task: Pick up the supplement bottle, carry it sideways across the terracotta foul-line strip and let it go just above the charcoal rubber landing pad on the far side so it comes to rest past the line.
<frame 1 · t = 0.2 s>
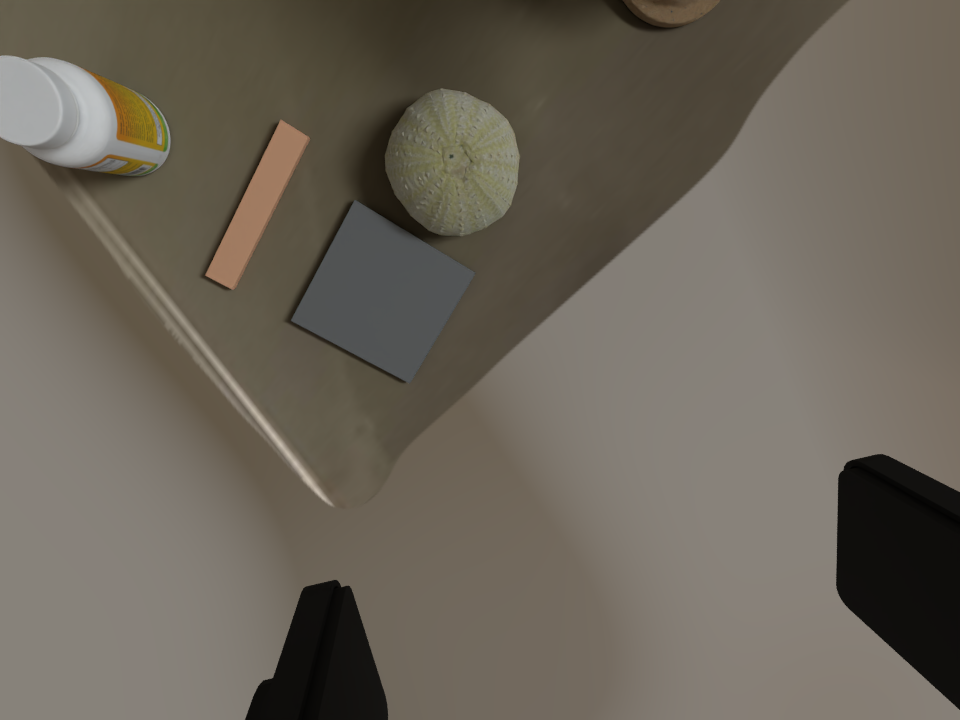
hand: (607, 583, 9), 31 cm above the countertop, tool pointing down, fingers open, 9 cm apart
landing pad: (384, 295, 38), on the countertop
supplement bottle: (131, 134, 33), on the countertop
sea urchin shell: (452, 168, 36), on the countertop
foul line: (258, 208, 35), on the countertop
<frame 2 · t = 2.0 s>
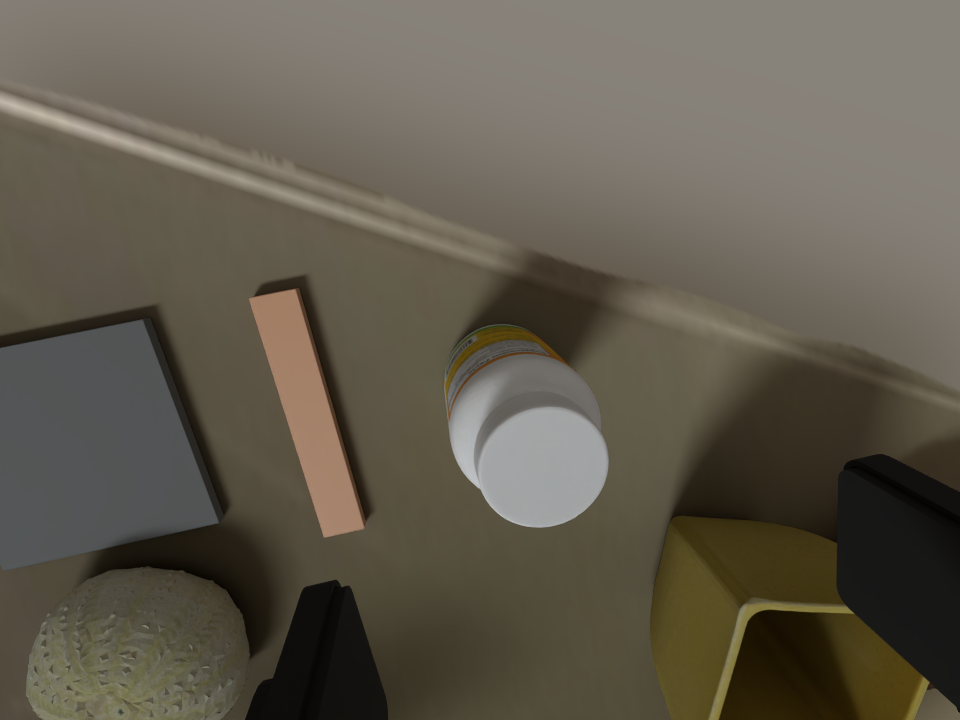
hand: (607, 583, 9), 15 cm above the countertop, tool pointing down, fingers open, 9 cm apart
flower pot: (698, 554, 28), on the countertop
landing pad: (78, 445, 23), on the countertop
supplement bottle: (498, 375, 24), on the countertop
sea urchin shell: (169, 625, 26), on the countertop
foul line: (313, 416, 24), on the countertop
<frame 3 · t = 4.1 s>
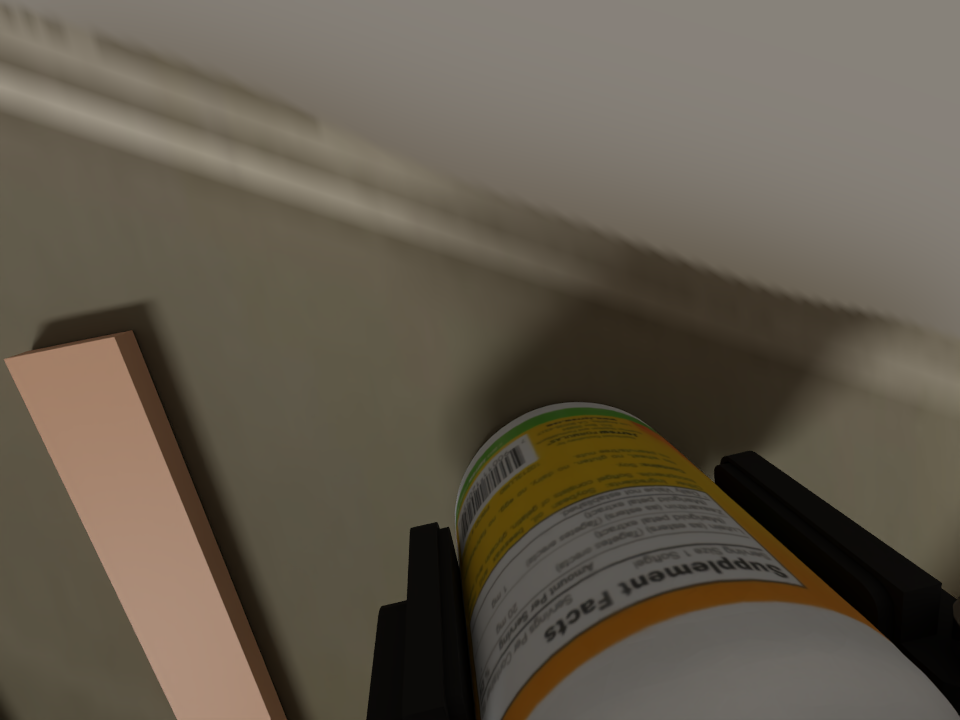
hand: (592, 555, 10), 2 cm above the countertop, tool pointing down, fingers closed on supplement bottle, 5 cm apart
supplement bottle: (563, 497, 12), on the countertop, touching gripper
foul line: (187, 588, 12), on the countertop
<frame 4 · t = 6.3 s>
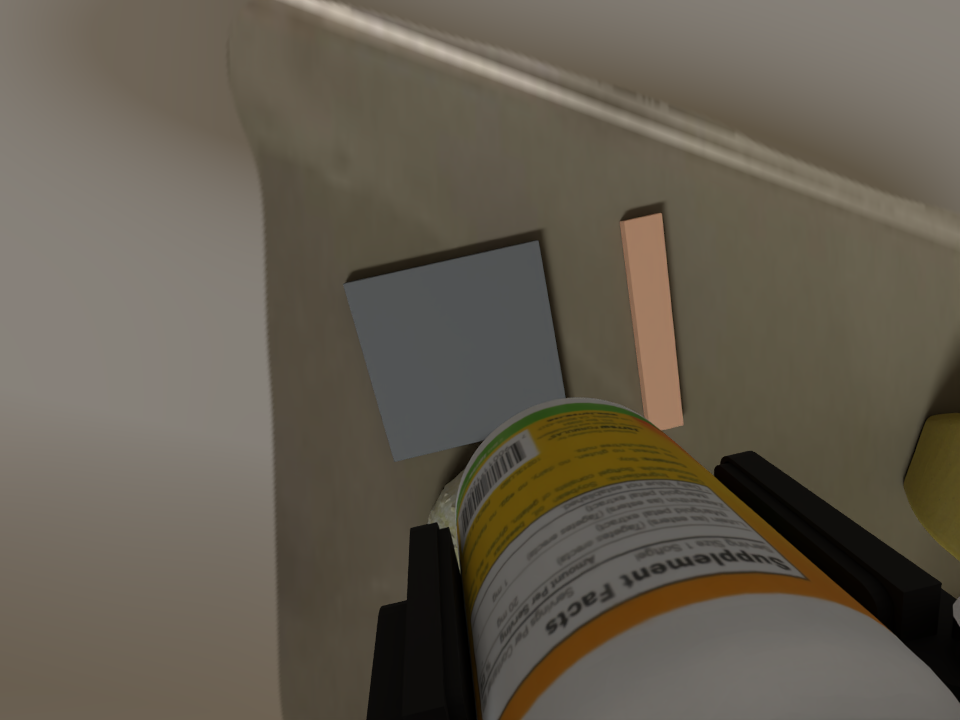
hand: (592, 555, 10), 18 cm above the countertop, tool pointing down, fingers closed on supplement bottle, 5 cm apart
flower pot: (941, 452, 32), on the countertop
landing pad: (462, 353, 27), on the countertop
supplement bottle: (563, 493, 12), point 15 cm above the countertop, touching gripper
sea urchin shell: (503, 515, 30), on the countertop
foul line: (650, 327, 28), on the countertop
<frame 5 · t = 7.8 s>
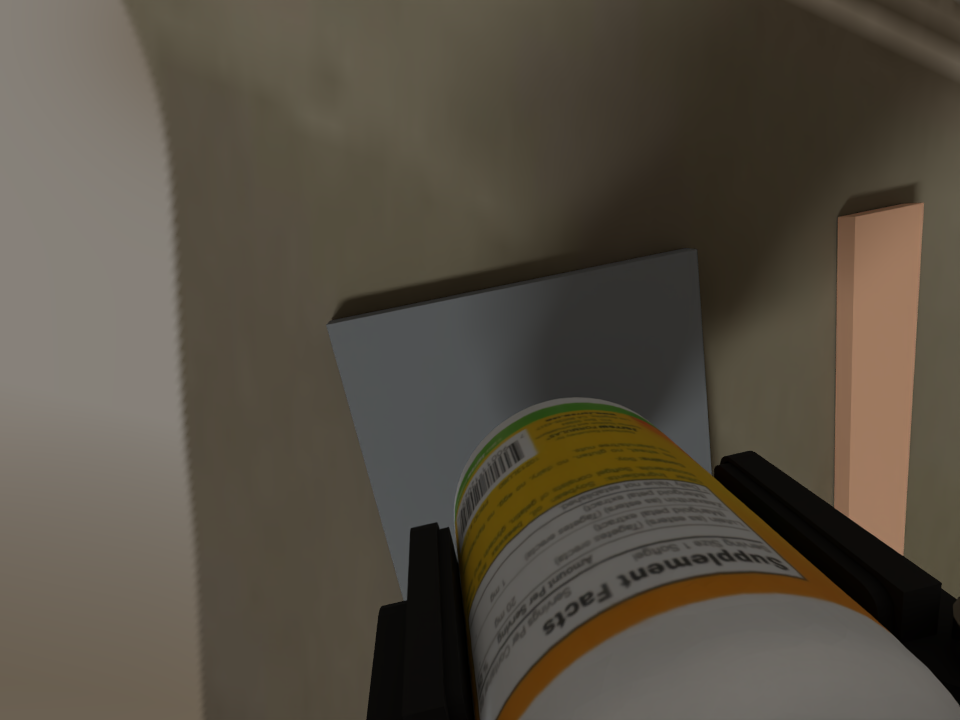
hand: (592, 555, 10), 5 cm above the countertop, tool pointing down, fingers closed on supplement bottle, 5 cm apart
landing pad: (539, 446, 15), on the countertop
supplement bottle: (562, 493, 12), point 3 cm above the countertop, touching gripper
foul line: (865, 404, 16), on the countertop
when the fingers open (4 cm above the countertop, at t = 8.7 s): supplement bottle drops 1 cm, resting on landing pad.
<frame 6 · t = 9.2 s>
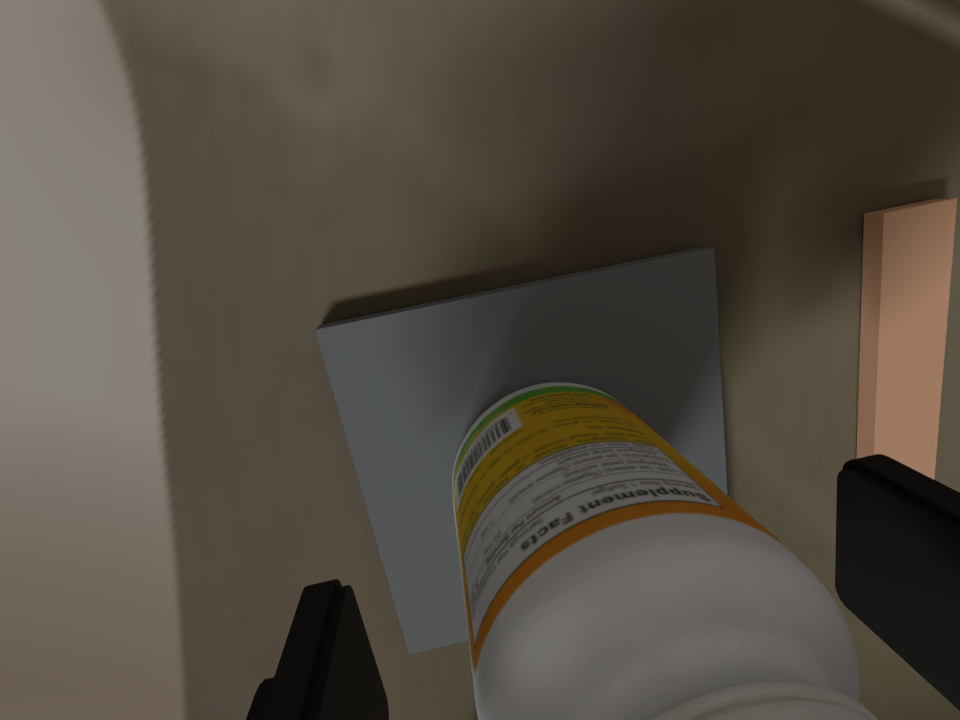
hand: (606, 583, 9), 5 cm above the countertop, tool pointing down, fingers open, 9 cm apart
landing pad: (543, 458, 14), on the countertop
supplement bottle: (548, 468, 14), resting on landing pad
foul line: (888, 412, 15), on the countertop
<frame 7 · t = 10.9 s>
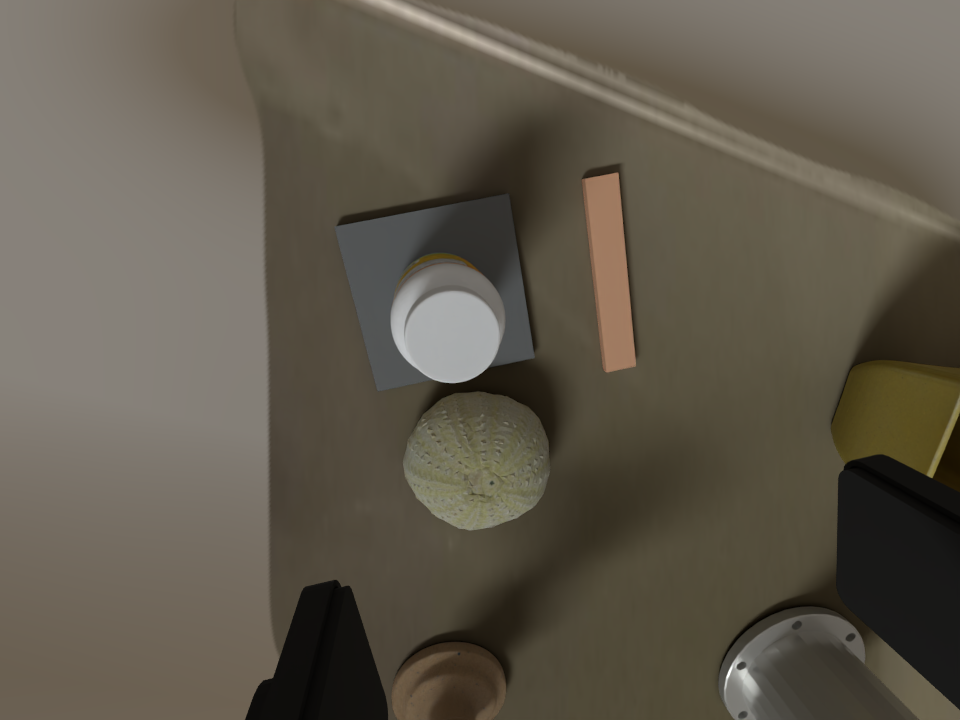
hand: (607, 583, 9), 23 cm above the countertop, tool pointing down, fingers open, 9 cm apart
flower pot: (864, 400, 36), on the countertop
landing pad: (440, 294, 30), on the countertop
candle holder: (448, 682, 39), on the countertop
supplement bottle: (440, 297, 30), resting on landing pad
sea urchin shell: (475, 446, 34), on the countertop
foul line: (608, 276, 31), on the countertop
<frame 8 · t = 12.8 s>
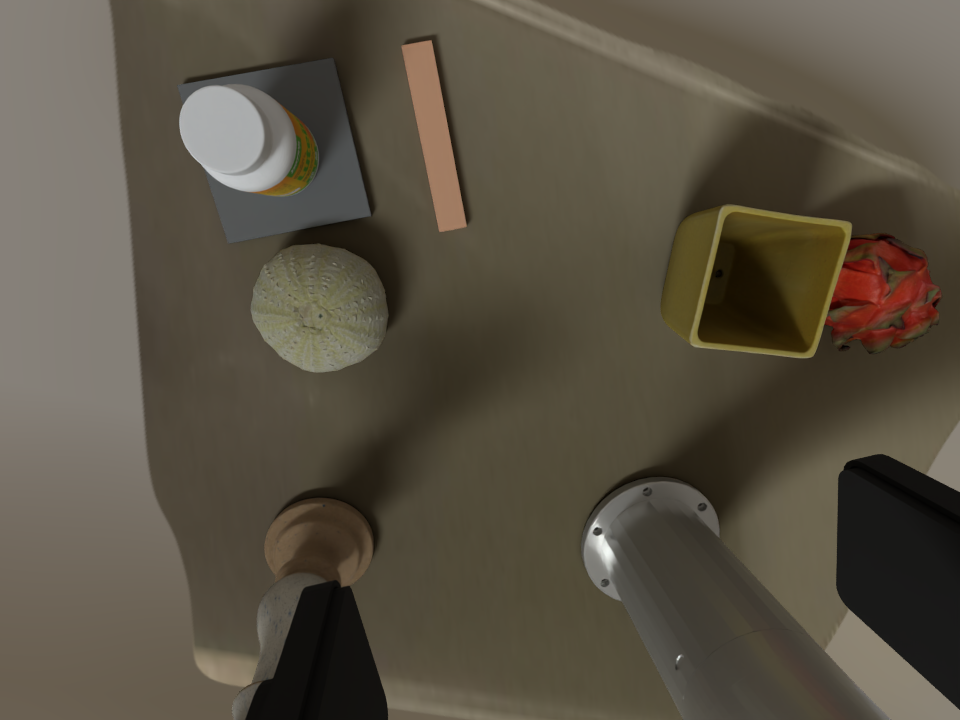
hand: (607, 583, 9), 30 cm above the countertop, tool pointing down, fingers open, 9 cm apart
flower pot: (694, 271, 40), on the countertop
landing pad: (281, 154, 34), on the countertop
candle holder: (322, 540, 42), on the countertop
dragon fruit: (818, 286, 41), on the countertop
supplement bottle: (279, 155, 34), resting on landing pad
sea urchin shell: (328, 304, 37), on the countertop
foul line: (435, 142, 35), on the countertop
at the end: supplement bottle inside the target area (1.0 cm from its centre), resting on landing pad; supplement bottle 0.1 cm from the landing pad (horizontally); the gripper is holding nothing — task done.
